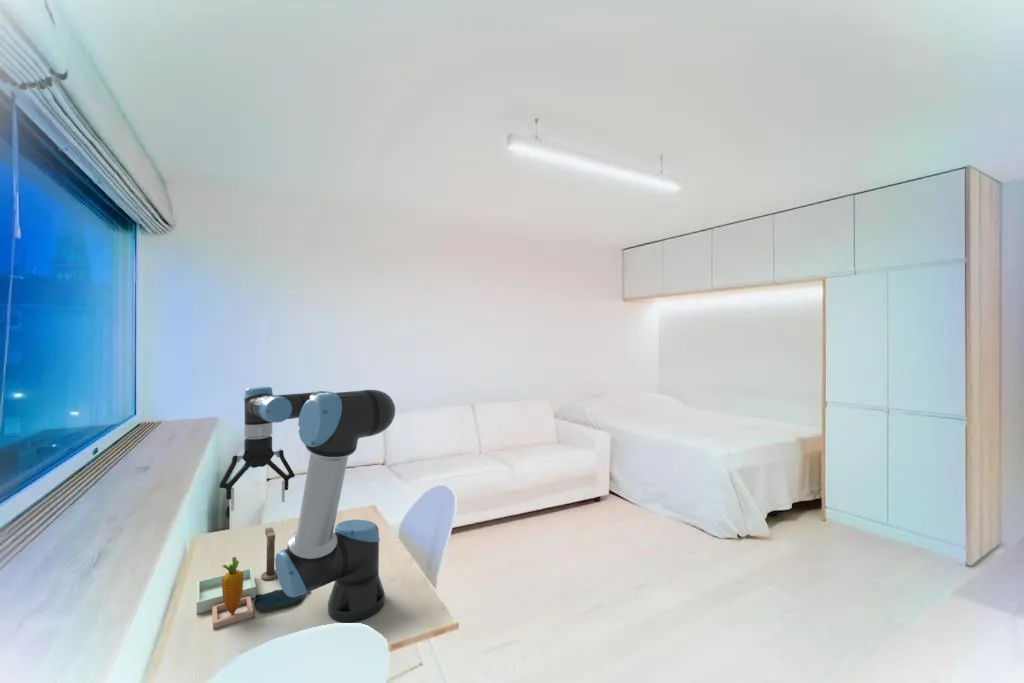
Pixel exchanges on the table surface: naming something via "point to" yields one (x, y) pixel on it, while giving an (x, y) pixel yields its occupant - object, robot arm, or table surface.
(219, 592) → the tray
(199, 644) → the table surface
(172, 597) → the table surface
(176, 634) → the table surface
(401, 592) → the table surface
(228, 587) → the carrot
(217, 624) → the holder ring
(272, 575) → the t stake
